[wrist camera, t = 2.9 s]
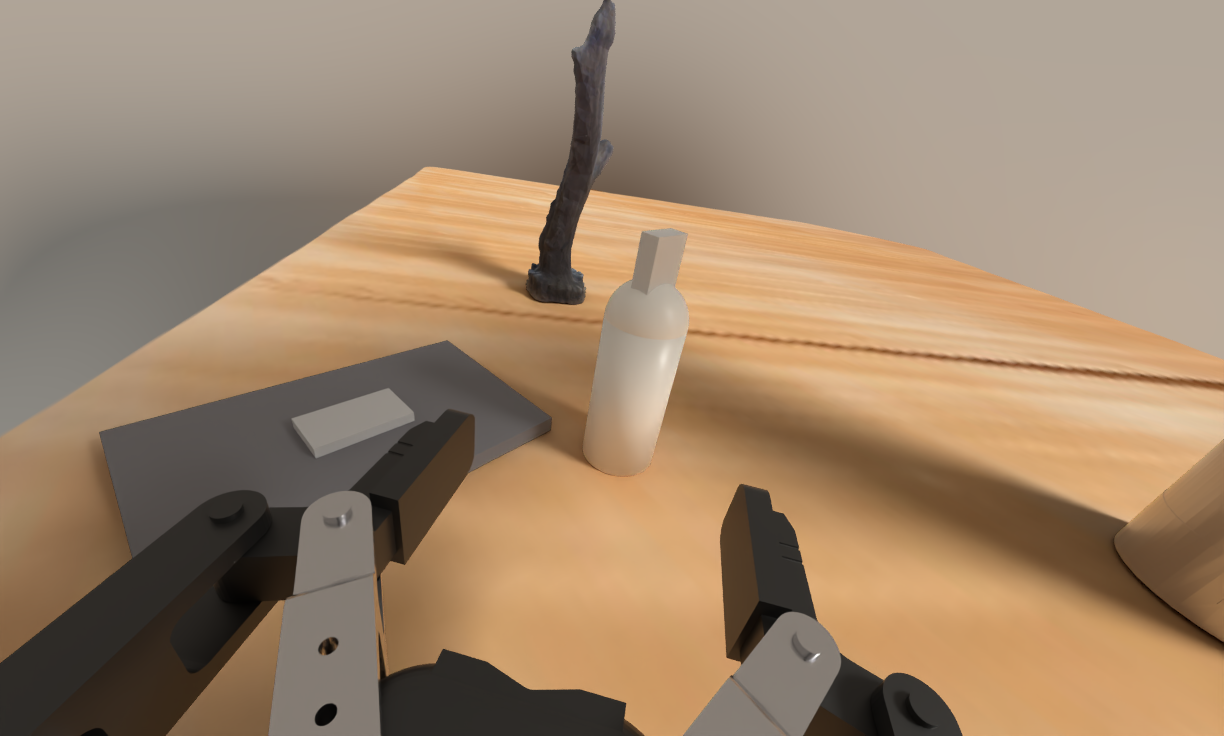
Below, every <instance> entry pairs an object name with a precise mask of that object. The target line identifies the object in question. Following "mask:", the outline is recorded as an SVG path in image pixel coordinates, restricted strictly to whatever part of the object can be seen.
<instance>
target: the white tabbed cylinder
mask: <svg viewBox="0 0 1224 736" xmlns="http://www.w3.org/2000/svg"><path fill="white" fill-rule="evenodd" d="M687 236H688V234H687V233H684V232H681V231H678V230H675V229H672V228H669V229H660V230H651V231H642V233H641V238H640V243H639V249H638V254H637V259H636V264H635V269H634V275H633V279H632V280H630V281H628V282H626V283H624V284H623V285H621V286H620V287H619V288H618V289H617V290H616V291H615V292H614V293H613V294H612V296H611V297H610V299H609V301H608V303H607V306H606V309H605V313H604V319H603V325H602V331H601V337H600V343H599V349H598V355H597V362H596V368H595V374H594V380H593V386H592V392H591V398H590V404H589V410H588V416H587V422H586V428H585V434H584V440H583V446H582V449H583V454H584V456H585V458H586V459H587V461H588V462H589V463H590V464H591V465H592V466H593V467H595V468H596V469H598V470H600V471H602V472H604V473H606V474H610V475H614V476H624V477H625V476H633V475H637V474H639V473H642V472H643V471H645V470H646V469H647V468H648V467H649V465H650V464H651V461H652V457H653V453H654V450H655V446H656V443H657V439H658V435H659V432H660V428H661V425H662V421H663V417H664V414H665V410H666V407H667V403H668V399H669V396H670V392H671V389H672V385H673V381H674V378H675V374H676V371H677V367H678V363H679V360H680V356H681V352H682V349H683V345H684V342H685V338H686V334H687V331H688V326H689V311H688V307H687V304H686V302H685V300H684V298H683V296H682V295H681V293H680V292H679V291H678V290H677V289H676V288H675V284H676V280H677V276H678V272H679V268H680V264H681V260H682V256H683V252H684V248H685V244H686V240H687Z"/></svg>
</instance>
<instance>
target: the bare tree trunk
mask: <svg viewBox="0 0 1224 736" xmlns="http://www.w3.org/2000/svg"><path fill="white" fill-rule="evenodd" d="M615 23H616V22H615V4H614V3H612V2H611V0H604V1H603V4H602V6H601V7H600V9H599V10H598V11H597V13H596V14H595V15H594V18H593V20H592V22H591V27H590V31H589V34H588V36H587V39H586V41H585V42H584V44H583V45H582V46H580V47H575V48H573V49H572V59H573V61H574V75H575V80H576V87H575V94H576V98H575V115H574V116H575V117H574V126H573V136H572V141H571V149H570V155H569V159H568V163H567V165H566V168H565V171H564V175H563V179H562V182H561V184H560V187H559V189H558V190H557V195H556V199H555V200H554V201H553V202H552V203H551V206H550V210H549V214H548V215H547V217H546V221H547V222H546V225H545V227H544V229H543V231H542V233H541V235H540V237H539V250H540V257H539V264H537V265H536V264H534V263H532V266H531V269H529V271H528V276H529V279H528V280H527V282H526V285H527V286H526V288H527V289H526V290H527V291H529V292H530V295H531V296H533V298H534V299H536V300H539V301H543V302H548V301H553V302H559V303H568V304H573V305H576V304H581V303H583V301H584V298H585V293H586V292H585V290H586V287H584V283H583V274H582V273H581V272H579V271H578V272H577V271H576V270H575V269H573V268H572V269H571V247H572V244H573V239H574V235H575V231H576V227H577V223H578V220H579V217H580V214H581V212H582V210H583V207H584V204H585V202H586V200H587V198H588V195H589V192H590V190H591V187H592V185H593V183H594V182H595V179H596V178H597V177H598V176H599V175H600V174H601V171H602V170H603V168H604V167H605V165H606V164H607V163H608V161H609V158H610V157H611V155H612V153H613V146H612V145H611V143H610V142H609V141H608V140H602V141H600V138H601V131H602V119H603V104H604V103H603V102H604V85H605V73H606V65H607V57H608V51H609V48H610V46H611V45H612V43H613V40H614V36H615Z"/></svg>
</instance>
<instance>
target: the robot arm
mask: <svg viewBox="0 0 1224 736" xmlns="http://www.w3.org/2000/svg"><path fill="white" fill-rule="evenodd" d="M474 449H475V417H474V415H473V414H469V413H465V412H461V411H457V410H453V409H447V410H446V411H445V412H444V413H443V414H442V415H441V416H440V417H439V418H438V419H437V420H436V421H435V422H430V421H425V422H423V423H421V424H419V425H417V426H415V427H413V428H411V429H409V430H408V431H407V432H406V433H405V434H404V435H403V436H402V437H401V438H400V439H399V440H398V443H395V444H394V445H393V446H392V447H391V448H390V449H389V450H388V453H385V454H384V455H383V456H382V457H381V458H380V459H379V460H378V461H377V462H376V463H375V464H374V465H373V466H372V467H371V468H370V469H369V470H368V472H367V473H366V474H365V475H364V476H363V477H362V478H361V479H360V480H359V481H358V482H357V483H356V484H355V485H354V486H353V487H352V488H351V489H349V490H348V491H340V492H335V493H331V494H328V495H326V496H324V497H322V498H320V499H318V500H317V501H315V502H314V503H312V504H311V505H310V506H309V507H269V506H268V503H267V500H266V498H265V496H264V495H262V494H261V493H259V492H256V491H252V490H237V491H231V492H227V493H224V494H221V495H218V496H215V497H213V498H211V499H209V500H207V501H206V502H204V503H202V504H201V505H199V506H198V507H197V508H196V509H194V510H193V511H192V512H190V513H189V514H188V515H187V516H185V517H184V518H183V519H182V520H180V521H179V522H178V523H177V524H175V525H174V526H173V527H172V528H170V529H169V530H168V531H166V532H165V533H164V534H163V535H161V536H160V537H159V538H158V539H156V540H155V541H154V542H153V543H151V544H150V545H149V546H148V547H146V548H145V549H144V550H143V551H141V552H140V553H139V554H137V555H136V556H135V557H134V558H132V559H131V560H130V561H129V562H127V563H126V564H125V565H124V566H122V567H121V568H120V569H119V570H117V571H116V572H115V573H114V574H112V575H111V576H110V577H108V578H107V579H106V580H105V581H103V582H102V583H101V584H100V585H98V586H97V587H96V588H95V589H93V590H92V591H91V592H90V593H88V594H87V595H86V596H84V597H83V598H82V599H81V600H79V601H78V602H77V603H76V604H74V605H73V606H72V607H71V608H69V609H68V610H67V611H66V612H64V613H63V614H62V615H61V616H59V617H58V618H57V619H55V620H54V621H53V622H52V623H50V624H49V625H48V626H47V627H45V628H44V629H43V630H42V631H40V632H39V633H38V634H37V635H35V636H34V637H33V638H32V639H30V640H29V641H28V642H26V643H25V644H24V645H23V646H21V647H20V648H19V649H18V650H16V651H15V652H14V653H13V654H11V655H10V656H9V657H8V658H6V659H5V660H4V661H2V662H1V663H0V736H166V734H167V733H168V732H169V731H170V730H171V728H172V727H173V726H174V725H175V724H176V722H177V721H178V720H179V719H180V718H181V717H182V715H183V714H184V713H185V712H186V711H187V709H188V708H189V707H190V706H191V705H192V703H193V702H194V701H195V700H196V699H197V697H198V696H199V695H200V694H201V693H202V691H203V690H204V689H205V688H206V687H207V685H208V684H209V683H210V682H211V681H212V679H213V678H214V677H215V676H216V675H217V673H218V672H219V671H220V670H221V669H222V667H223V666H224V665H225V664H226V663H227V661H228V660H229V659H230V658H231V657H232V655H233V654H234V653H235V652H236V651H237V649H238V648H239V647H240V646H241V645H242V643H243V642H244V641H245V640H246V639H247V638H248V636H249V635H250V634H251V633H252V632H253V630H254V629H255V628H256V627H257V626H258V624H259V623H260V622H261V621H262V620H263V618H264V617H265V616H266V615H267V614H268V612H269V611H270V610H271V609H272V608H273V606H274V605H275V604H276V603H277V602H278V600H286V601H285V605H284V610H283V618H282V626H281V634H280V643H279V651H278V659H277V667H276V676H275V684H274V692H273V700H272V708H271V717H270V725H269V733H268V736H644V735H643V734H642V733H641V732H640V731H639V730H638V729H637V728H636V727H634V726H633V725H632V724H631V723H629V722H628V721H626V720H625V719H624V716H625V709H626V703H624V702H621V701H617V700H614V699H611V698H607V697H604V696H601V695H597V694H594V693H590V692H587V691H584V690H580V689H576V690H530V689H527V688H525V687H523V686H522V685H521V684H519V683H518V682H516V681H515V680H513V679H512V678H510V677H509V676H507V675H506V674H504V673H503V672H501V671H500V670H498V669H497V668H495V667H494V666H492V665H491V664H489V663H488V662H486V661H482V660H479V659H476V658H472V657H469V656H466V655H462V654H459V653H455V652H452V651H449V650H445V649H443V650H442V652H441V654H440V656H439V658H438V660H437V662H436V663H434V664H423V665H417V666H413V667H410V668H406V669H403V670H400V671H398V672H395V673H393V674H391V675H389V668H388V658H387V648H386V635H385V619H384V604H383V588H382V575H381V573H382V572H383V570H384V569H385V567H386V566H387V565H388V563H389V562H390V561H393V562H397V563H400V564H404V565H405V564H406V562H407V561H408V560H409V558H410V557H411V555H412V554H413V552H414V551H415V549H416V548H417V546H418V545H419V544H420V542H421V541H422V539H423V538H424V536H425V535H426V533H427V532H428V531H429V529H430V528H431V526H432V525H433V523H434V522H435V520H436V519H437V517H438V516H439V515H440V513H441V512H442V510H443V509H444V507H445V506H446V504H447V503H448V502H449V500H450V499H451V497H452V496H453V494H454V493H455V491H456V490H457V488H458V487H459V486H460V484H461V483H462V481H463V480H464V478H465V477H466V475H467V474H468V472H469V470H470V468H471V466H472V463H473V459H474ZM1114 543H1115V547H1116V550H1117V552H1118V553H1119V555H1120V557H1121V558H1122V560H1123V561H1124V563H1125V564H1126V565H1127V566H1128V567H1129V568H1130V569H1131V571H1132V572H1133V573H1134V574H1135V575H1136V576H1137V577H1138V578H1139V579H1140V580H1141V581H1142V582H1143V583H1144V584H1145V585H1146V586H1147V587H1148V588H1150V589H1151V590H1152V591H1153V592H1154V593H1155V594H1156V595H1158V596H1159V597H1160V598H1161V599H1163V600H1164V601H1165V602H1166V603H1168V604H1169V605H1170V606H1171V607H1172V608H1174V609H1175V610H1177V611H1178V612H1179V613H1181V614H1182V615H1184V616H1185V617H1186V618H1188V619H1189V620H1190V621H1192V622H1193V623H1195V624H1196V625H1197V626H1199V627H1200V628H1202V629H1204V630H1205V631H1207V632H1208V633H1210V634H1211V635H1213V636H1215V637H1216V638H1218V639H1219V640H1221V641H1223V642H1224V439H1223V440H1222V441H1221V442H1220V443H1219V444H1218V445H1217V446H1215V447H1214V448H1213V449H1212V450H1211V451H1210V452H1209V453H1208V454H1206V455H1205V456H1204V457H1203V458H1202V459H1201V460H1200V461H1199V462H1197V463H1196V464H1195V465H1194V466H1193V467H1192V468H1191V469H1190V470H1188V471H1187V472H1186V473H1185V474H1184V475H1183V476H1182V477H1180V478H1179V479H1178V480H1177V481H1176V482H1175V483H1174V484H1173V485H1171V486H1170V487H1169V488H1168V489H1166V490H1165V491H1164V492H1163V493H1162V494H1161V495H1160V496H1158V497H1157V498H1156V499H1155V500H1154V501H1153V502H1152V503H1151V504H1149V505H1148V506H1147V507H1146V508H1145V509H1144V510H1143V511H1142V512H1140V513H1139V514H1138V515H1137V516H1136V517H1135V518H1134V519H1133V520H1131V521H1130V522H1129V523H1128V524H1127V525H1126V526H1125V527H1124V528H1122V529H1121V530H1120V531H1119V532H1118V533H1117V534H1116V535H1115V538H1114ZM720 548H721V566H722V584H723V602H724V621H725V639H726V657H727V658H729V659H733V660H736V661H740V662H741V666H740V668H739V669H738V670H737V671H736V673H735V674H734V675H733V676H732V675H731V676H730V677H729V678H728V680H727V681H726V682H725V683H724V684H723V686H722V687H721V688H720V689H719V691H718V692H717V693H716V694H715V696H714V697H713V698H712V699H711V701H710V702H709V703H708V705H707V706H706V707H705V708H704V710H703V711H702V712H701V713H700V715H699V716H698V717H697V718H696V720H695V721H694V722H693V723H692V725H691V726H690V727H689V729H688V730H687V731H686V732H685V734H684V735H683V736H962V733H961V730H960V728H959V725H958V723H957V721H956V719H955V717H954V715H953V714H952V712H951V710H950V709H949V707H948V706H947V705H946V703H945V702H944V701H943V700H942V699H941V697H940V696H939V695H938V694H937V693H936V692H935V691H934V690H932V689H931V688H930V687H929V686H928V685H926V684H925V683H923V682H922V681H921V680H919V679H917V678H915V677H913V676H910V675H908V674H904V673H893V674H891V675H889V676H888V677H887V678H886V679H885V680H882V679H881V678H879V677H877V676H876V675H874V674H872V673H870V672H869V671H867V670H865V669H864V668H862V667H860V666H859V665H857V664H855V663H854V662H852V661H850V660H849V659H847V658H846V657H845V656H843V655H842V654H841V653H840V652H839V649H838V647H837V645H836V643H835V641H834V639H833V638H832V636H831V635H830V633H829V632H828V631H827V630H826V629H825V628H824V627H823V626H822V625H821V624H820V623H819V622H818V621H817V618H816V614H815V610H814V606H813V602H812V598H811V594H810V590H809V586H808V582H807V578H806V574H805V570H804V566H803V565H802V558H801V554H800V551H799V550H798V549H799V546H798V542H797V538H796V534H795V530H794V528H793V527H792V525H791V524H790V522H789V521H788V519H787V518H786V516H785V515H784V514H783V513H779V512H775V511H773V509H772V504H771V499H770V495H769V492H768V491H767V490H764V489H760V488H756V487H752V486H748V485H744V484H740V485H739V487H738V489H737V491H736V493H735V495H734V498H733V500H732V502H731V504H730V507H729V509H728V511H727V514H726V516H725V518H724V521H723V524H722V528H721V535H720Z"/></svg>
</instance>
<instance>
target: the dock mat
mask: <svg viewBox="0 0 1224 736" xmlns="http://www.w3.org/2000/svg"><path fill="white" fill-rule="evenodd" d="M447 409H453V410H457V411H461V412H465V413H469V414H473V415H474V417H475V449H474V459H473V463H472V466H471V468H470V470H469V472H471V471H473V470H475V469H477V468H478V467H480V466H482V465H484V464H486V463H488V462H490V461H492V460H494V459H496V458H498V457H500V456H502V455H504V454H506V453H507V452H509V451H511V450H513V449H515V448H517V447H519V446H521V445H523V444H525V443H527V442H529V441H531V440H533V439H535V438H536V437H538V436H540V435H542V434H544V433H546V432H548V431H550V430H551V422H552V417H550V416H549V415H547V414H546V413H545V412H543V411H542V410H541V409H539V408H538V407H537V406H535V405H534V404H533V403H531V402H530V401H529V400H527V399H526V398H524V397H523V396H522V395H520V394H519V393H518V392H516V391H515V390H514V389H512V388H511V387H510V386H508V385H507V384H506V383H504V382H503V381H501V380H500V379H499V378H497V377H496V376H495V375H493V374H492V373H491V372H489V371H488V370H487V369H485V368H484V367H483V366H481V365H480V364H479V363H477V362H476V361H474V360H473V359H472V358H470V357H469V356H468V355H466V354H465V353H464V352H462V351H461V350H460V349H458V348H457V347H456V346H454V345H453V344H451V343H450V342H449V341H443V342H439V343H436V344H432V345H428V346H424V347H420V348H417V349H413V350H409V351H405V352H401V353H398V354H394V355H390V356H386V357H382V358H379V359H375V360H371V361H367V362H363V363H360V364H356V365H352V366H348V367H344V368H341V369H337V370H333V371H329V372H325V373H322V374H318V375H314V376H310V377H306V378H303V379H299V380H295V381H291V382H287V383H284V384H280V385H276V386H272V387H268V388H265V389H261V390H257V391H253V392H249V393H246V394H242V395H238V396H234V397H230V398H227V399H223V400H219V401H215V402H211V403H208V404H204V405H200V406H196V407H192V408H189V409H185V410H181V411H177V412H173V413H170V414H166V415H162V416H158V417H155V418H151V419H147V420H143V421H139V422H136V423H132V424H128V425H124V426H120V427H117V428H113V429H109V430H105V431H101V432H99V434H100V437H101V441H102V445H103V449H104V453H105V456H106V460H107V464H108V468H109V471H110V475H111V479H112V483H113V487H114V490H115V494H116V498H117V502H118V505H119V509H120V513H121V517H122V521H123V524H124V528H125V532H126V536H127V539H128V543H129V547H130V551H131V555H132V558H134V557H135V556H136V555H137V554H139V553H140V552H141V551H143V550H144V549H145V548H146V547H148V546H149V545H150V544H151V543H153V542H154V541H155V540H156V539H158V538H159V537H160V536H161V535H163V534H164V533H165V532H166V531H168V530H169V529H170V528H172V527H173V526H174V525H175V524H177V523H178V522H179V521H180V520H182V519H183V518H184V517H185V516H187V515H188V514H189V513H190V512H192V511H193V510H194V509H196V508H197V507H198V506H199V505H201V504H202V503H204V502H206V501H207V500H209V499H211V498H213V497H215V496H218V495H221V494H224V493H227V492H231V491H237V490H252V491H256V492H259V493H261V494H262V495H264V496H265V498H266V500H267V503H268V506H269V507H309V506H310V505H311V504H312V503H314V502H315V501H317V500H318V499H320V498H322V497H324V496H326V495H328V494H331V493H335V492H340V491H348V490H349V489H351V488H352V487H353V486H354V485H355V484H356V483H357V482H358V481H359V480H360V479H361V478H362V477H363V476H364V475H365V474H366V473H367V472H368V470H369V469H370V468H371V467H372V466H373V465H374V464H375V463H376V462H377V461H378V460H379V459H380V458H381V457H382V456H383V455H384V454H385V453H388V450H389V449H390V448H391V447H392V446H393V445H394V444H395V443H398V440H399V439H400V438H401V437H402V436H403V435H404V434H405V433H406V432H407V431H408V430H409V429H411V428H413V427H415V426H417V425H419V424H421V423H423V422H425V421H430V422H435V421H436V420H437V419H438V418H439V417H440V416H441V415H442V414H443V413H444V412H445V411H446V410H447ZM469 472H468V473H469Z"/></svg>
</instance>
